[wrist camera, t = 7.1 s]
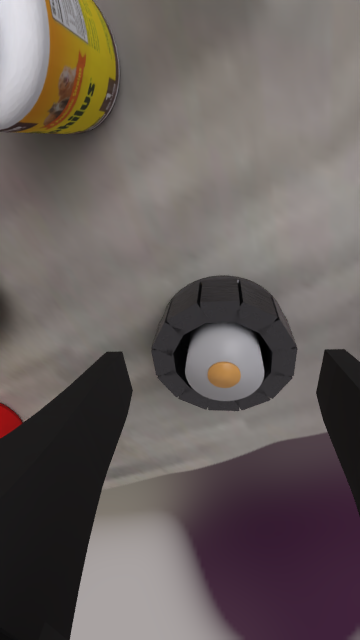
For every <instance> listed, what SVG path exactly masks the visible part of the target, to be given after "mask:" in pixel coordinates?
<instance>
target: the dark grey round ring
mask: <svg viewBox="0 0 360 640" xmlns="http://www.w3.org/2000/svg"><path fill="white" fill-rule="evenodd" d="M220 322H236V323H238V324H240V325H242V326H245V327H247V328H249V329H251V330H253V331H256V332H257V335H258V340H259V345H260V351H261V356H262V361H263V366H264V379H263V381H262V383H261V385H260V387H259V388H258V389H257V390H256V391H255V392H254V393H252V394H251V395H249V396H247V397H245V398H242V399H239V400H234V401H218V400H213V399H209V398H207V397H204V396H202V395H201V394H199V393H197V392H196V391H195V390H194V389H193V388H192V387H191V386H190V384H189V383H188V381H187V378H186V375H185V368H186V361H187V354H188V348H189V341H190V335H191V331H192V330H194V329H196V328H197V327H199V326H201V325H203V324H205V323H220ZM151 351H152V356H153V361H154V366H155V371H156V375H158V379H159V380H160V381H161V382H162V383H163V384H164V385H165V386H166V387H167V388H168V389H169V390H170V391H171V392H172V393H173V394H174V395H175V396H176V397H178V396H179V399H181V400H183V401H186V402H188V403H191V404H193V405H196V406H198V407H201V408H203V409H207V407H208V409H209V410H227V411H239V407H240V409H241V410H244V409H247V408H250V407H253V406H255V405H258V404H261V403H264V402H266V401H269V400H270V398H272V399H273V398H274V397H275V396H276V395H277V394H278V393H279V392H280V390H281V389H282V388H283V387H284V386H285V385H286V384H287V383H288V382H289V381H290V380H291V379H292V376H294V369H295V361H296V354H297V347H296V343H295V340H294V337H293V335H292V332H291V329H290V327H289V324H288V321H287V319H286V317H285V316H284V314H283V312H282V310H281V308H280V306H279V304H278V302H277V301H276V300H275V298H274V297H273V296H272V295H271V294H270V293H269V292H268V291H267V290H265V289H264V288H263V287H262V286H260V285H258V284H256V283H254V282H252V281H249V280H247V279H244V278H240V277H234V276H212V277H207V278H203V279H200V280H197V281H195V282H193V283H191V284H189V285H187V286H186V287H184V288H183V289H181V290H180V291H179V292H178V293H177V294H176V295H175V296H174V297H173V298H172V299H171V301H170V302H169V304H168V306H167V308H166V310H165V313H164V315H163V317H162V319H161V321H160V324H159V327H158V330H157V333H156V336H155V339H154V342H153V345H152V350H151Z"/></svg>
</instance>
